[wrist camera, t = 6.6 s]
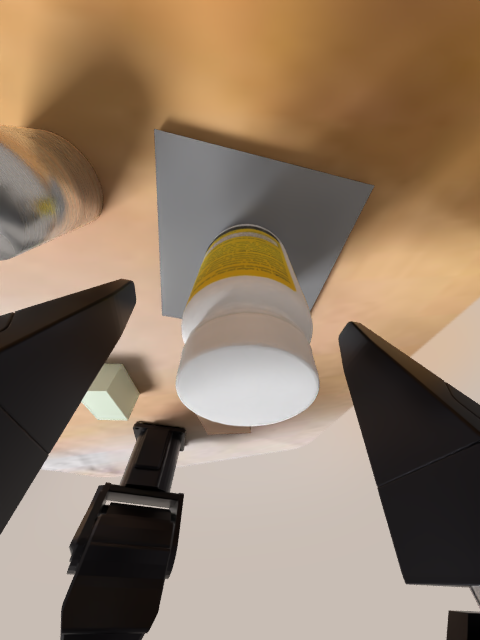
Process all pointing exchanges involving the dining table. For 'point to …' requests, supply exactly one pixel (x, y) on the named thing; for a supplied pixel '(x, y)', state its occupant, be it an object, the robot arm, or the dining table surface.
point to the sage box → (111, 394)
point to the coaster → (246, 211)
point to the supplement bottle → (247, 334)
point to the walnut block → (222, 427)
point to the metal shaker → (42, 189)
